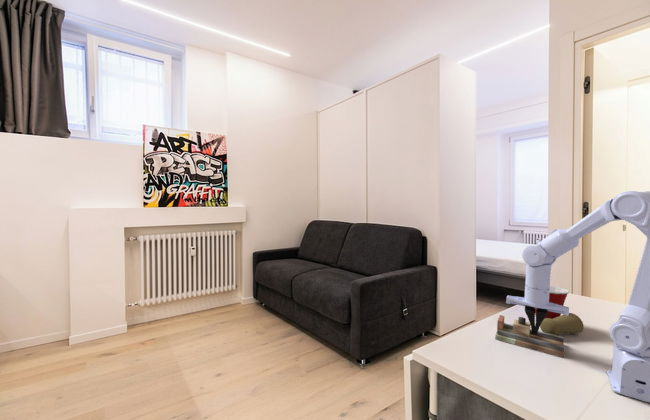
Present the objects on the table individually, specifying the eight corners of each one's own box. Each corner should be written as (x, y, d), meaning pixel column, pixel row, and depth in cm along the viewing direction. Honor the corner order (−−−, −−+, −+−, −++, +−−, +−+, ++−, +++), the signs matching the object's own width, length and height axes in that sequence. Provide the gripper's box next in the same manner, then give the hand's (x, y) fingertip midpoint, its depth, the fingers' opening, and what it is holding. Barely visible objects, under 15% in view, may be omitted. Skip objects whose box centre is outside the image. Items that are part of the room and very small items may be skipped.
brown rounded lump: (585, 335, 89) (556, 341, 87) (564, 330, 95) (537, 335, 92) (582, 315, 90) (553, 320, 87) (562, 310, 95) (534, 315, 93)
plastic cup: (557, 317, 104) (559, 283, 103) (574, 331, 93) (576, 294, 92) (522, 313, 106) (523, 281, 106) (534, 326, 96) (536, 290, 95)
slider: (529, 334, 88) (530, 317, 88) (528, 340, 85) (529, 322, 84) (514, 330, 90) (514, 314, 90) (512, 335, 87) (513, 318, 87)
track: (563, 343, 85) (564, 327, 85) (564, 357, 78) (565, 339, 78) (499, 328, 95) (500, 312, 95) (495, 339, 88) (495, 322, 87)
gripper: (569, 288, 83) (566, 335, 84) (509, 278, 92) (507, 321, 93) (570, 295, 78) (567, 345, 79) (506, 284, 87) (504, 329, 87)
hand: (534, 332), depth 85 cm, fingers closed
